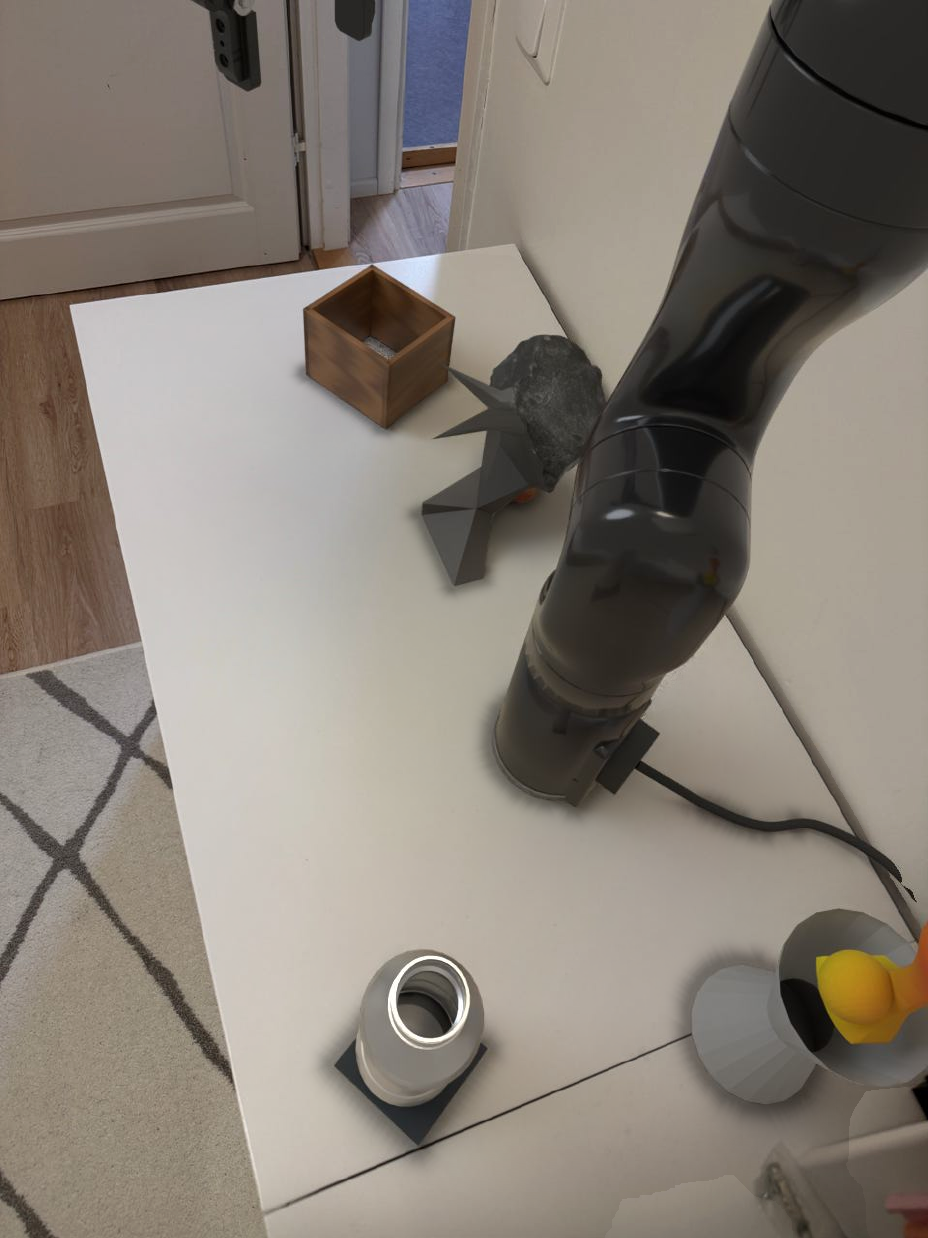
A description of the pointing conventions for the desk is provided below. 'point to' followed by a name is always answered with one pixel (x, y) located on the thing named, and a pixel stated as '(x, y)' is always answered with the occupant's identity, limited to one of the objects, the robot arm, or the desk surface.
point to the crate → (391, 319)
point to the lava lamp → (818, 1010)
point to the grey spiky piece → (515, 444)
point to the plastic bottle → (418, 1027)
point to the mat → (407, 1118)
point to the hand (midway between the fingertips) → (300, 57)
